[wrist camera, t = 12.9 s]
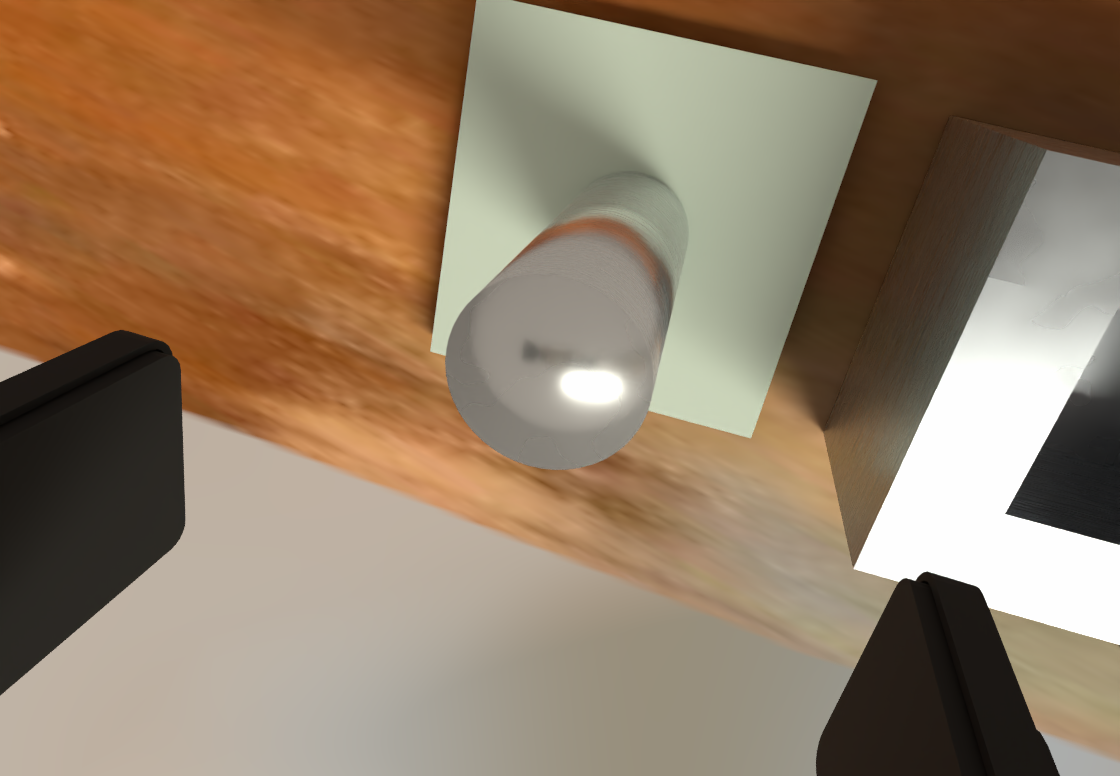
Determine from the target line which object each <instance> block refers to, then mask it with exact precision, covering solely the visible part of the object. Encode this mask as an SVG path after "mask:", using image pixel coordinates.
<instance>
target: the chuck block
mask: <svg viewBox="0 0 1120 776" xmlns="http://www.w3.org/2000/svg"><path fill="white" fill-rule="evenodd" d="M823 433H824V437H825V442H826V447H827V451H828V456H829V460H830V465H831V469H832V474H833V478H834V483H835V488H836V492H837V497H838V501H839V506H840V510H841V515H842V519H843V524H844V529H845V533H846V538H847V542H848V547H849V551H850V556H851V560H852V565H853V569H856V570H859V571H863V572H866V573H870V574H873V575H877V576H880V577H884V578H887V579H891V580H895V581H898V582H900V581H901V580H902V579H903V578H908V579H912V580H916V579H917V577H918V576H919V575H920V574H921V573H922V572H926V571H928V572H932V573H935V574H938V575H942V576H945V577H948V578H952V579H955V580H958V581H962V582H965V583H968V584H972V585H975V586H977V587H979V588H980V589H981V591H982V593H983V595H984V597H985V600H986V602H987V605H988V607H989V608H993V609H996V610H1000V611H1003V612H1007V613H1010V614H1014V615H1017V616H1021V617H1024V618H1028V619H1031V620H1035V621H1038V622H1042V623H1045V624H1049V625H1052V626H1056V627H1059V628H1063V629H1067V630H1070V631H1074V632H1077V633H1081V634H1084V635H1088V636H1091V637H1095V638H1098V639H1102V640H1105V641H1109V642H1112V643H1116V644H1119V645H1120V153H1117V152H1113V151H1108V150H1104V149H1099V148H1095V147H1090V146H1086V145H1081V144H1077V143H1072V142H1068V141H1063V140H1059V139H1054V138H1050V137H1045V136H1041V135H1036V134H1032V133H1027V132H1023V131H1018V130H1014V129H1009V128H1005V127H1000V126H996V125H991V124H987V123H982V122H978V121H973V120H969V119H964V118H960V117H955V116H951V115H950V117H949V120H948V122H947V125H946V127H945V130H944V132H943V135H942V137H941V140H940V142H939V145H938V147H937V150H936V152H935V155H934V157H933V160H932V162H931V165H930V167H929V170H928V172H927V175H926V177H925V180H924V182H923V185H922V187H921V190H920V192H919V195H918V197H917V200H916V202H915V205H914V207H913V210H912V212H911V215H910V217H909V220H908V222H907V225H906V227H905V230H904V232H903V235H902V237H901V240H900V242H899V245H898V247H897V250H896V252H895V255H894V257H893V260H892V262H891V265H890V267H889V270H888V272H887V275H886V277H885V280H884V282H883V285H882V287H881V290H880V292H879V295H878V297H877V300H876V302H875V305H874V307H873V310H872V312H871V315H870V317H869V320H868V322H867V325H866V327H865V330H864V332H863V335H862V337H861V340H860V342H859V345H858V347H857V350H856V352H855V355H854V357H853V360H852V362H851V365H850V367H849V370H848V372H847V375H846V377H845V380H844V382H843V385H842V387H841V390H840V392H839V395H838V397H837V400H836V402H835V405H834V407H833V410H832V412H831V415H830V417H829V420H828V422H827V425H826V427H825V430H824V432H823Z"/></svg>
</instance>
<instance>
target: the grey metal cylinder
mask: <svg viewBox="0 0 1120 776" xmlns="http://www.w3.org/2000/svg"><path fill="white" fill-rule="evenodd" d="M688 241H689V224H688V219H687V215H686V212H685V209H684V207H683V205H682V203H681V201H680V200H679V198H678V197H677V196H676V194H675V193H674V192H673V191H672V190H671V189H670V188H669V187H668V186H667V185H666V184H664V183H663V182H661V181H660V180H658V179H656V178H654V177H652V176H650V175H647V174H644V173H640V172H634V171H623V172H615V173H611V174H608V175H605V176H603V177H601V178H599V179H597V180H595V181H594V182H592V183H591V184H590V185H588V186H587V187H586V188H585V189H584V190H583V191H582V192H581V193H580V194H579V195H578V196H577V197H576V198H575V199H574V200H573V201H572V202H571V203H570V204H569V205H568V206H567V207H566V208H565V209H564V210H563V211H562V212H561V213H560V214H559V215H558V216H557V217H556V218H555V219H554V220H553V221H552V222H551V223H550V224H549V225H548V226H547V227H545V228H544V229H543V230H542V231H541V232H540V233H539V234H538V235H537V236H536V237H535V238H534V239H533V240H532V241H531V242H530V243H529V244H528V245H527V246H526V247H525V248H524V249H523V250H522V251H521V252H520V253H519V254H518V255H517V256H516V257H515V258H514V259H513V260H512V261H511V262H510V263H509V264H508V265H507V266H506V267H505V268H504V269H503V270H502V271H501V272H500V273H499V274H498V275H497V276H496V277H494V278H493V279H492V280H491V281H490V282H489V283H488V284H487V285H486V286H485V287H484V288H483V289H482V290H481V291H480V292H479V293H478V294H477V295H476V296H475V297H474V298H473V299H472V300H471V301H470V302H469V303H468V304H467V305H466V306H465V308H464V309H463V310H462V312H461V313H460V314H459V316H458V318H457V320H456V321H455V323H454V325H453V328H452V330H451V333H450V336H449V339H448V344H447V348H446V360H445V365H446V376H447V381H448V386H449V390H450V393H451V396H452V399H453V401H454V403H455V405H456V407H457V409H458V411H459V413H460V414H461V416H462V417H463V419H464V421H465V422H466V423H467V424H468V426H469V427H470V428H471V429H472V431H473V432H474V433H475V434H476V435H477V436H478V437H479V438H480V439H481V440H482V441H484V442H485V443H486V444H487V445H489V446H490V447H491V448H493V449H494V450H496V451H497V452H499V453H501V454H502V455H504V456H506V457H508V458H510V459H512V460H514V461H517V462H520V463H522V464H525V465H528V466H533V467H537V468H543V469H552V470H567V469H575V468H581V467H585V466H588V465H592V464H594V463H597V462H599V461H602V460H604V459H606V458H608V457H609V456H611V455H613V454H614V453H616V452H617V451H618V450H620V449H621V448H622V447H624V446H625V445H626V444H627V443H628V442H629V441H630V440H631V439H632V438H633V436H634V435H635V433H636V432H637V431H638V429H639V428H640V426H641V425H642V423H643V421H644V419H645V417H646V414H647V412H648V409H649V406H650V403H651V398H652V394H653V390H654V386H655V382H656V377H657V373H658V369H659V365H660V360H661V356H662V352H663V348H664V344H665V339H666V335H667V331H668V327H669V323H670V318H671V314H672V310H673V306H674V301H675V297H676V293H677V289H678V285H679V280H680V276H681V272H682V268H683V264H684V259H685V255H686V251H687V246H688Z"/></svg>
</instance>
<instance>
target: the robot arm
mask: <svg viewBox="0 0 1120 776" xmlns="http://www.w3.org/2000/svg"><path fill="white" fill-rule="evenodd" d="M183 461H184V460H183V431H182V397H181V369H180V364H179V362H178V360H177V359H176V358H175V357H174V356H172V351H171V350H170V348H169V346H168V345H167V344H166V343H164V342H162V341H159V340H156V339H152V338H149V337H146V336H142V335H139V334H136V333H132V332H129V331H124V330H119V331H115V332H112V333H109V334H107V335H105V336H103V337H101V338H98V339H96V340H94V341H92V342H89V343H87V344H85V345H83V346H80V347H78V348H76V349H74V350H71V351H69V352H67V353H65V354H62V355H60V356H58V357H56V358H53V359H51V360H49V361H47V362H45V363H42V364H40V365H38V366H36V367H33V368H31V369H29V370H27V371H25V372H22V373H20V374H18V375H16V376H13V377H11V378H9V379H7V380H4V381H2V382H0V695H1V694H2V693H4V692H5V691H6V690H7V689H8V688H9V687H10V686H12V685H13V684H14V683H15V682H17V681H18V680H19V679H20V678H21V677H22V676H24V675H25V674H26V673H27V672H28V671H29V670H31V669H32V668H33V667H34V666H35V665H36V664H38V663H39V662H40V661H41V660H42V659H43V658H45V657H46V656H47V655H48V654H49V653H50V652H52V651H53V650H54V649H55V648H56V647H57V646H59V645H60V644H61V643H62V642H63V641H64V640H66V639H67V638H68V637H69V636H70V635H71V634H72V633H74V632H75V631H76V630H77V629H78V628H80V627H81V626H82V625H83V624H84V623H85V622H87V621H88V620H89V619H90V618H91V617H93V616H94V615H95V614H96V613H97V612H98V611H100V610H101V609H102V608H103V607H104V606H105V605H107V604H108V603H109V602H110V601H111V600H112V599H113V598H115V597H116V596H117V595H118V594H119V593H121V592H122V591H123V590H124V589H125V588H126V587H128V586H129V585H130V584H131V583H132V582H133V581H135V580H136V579H137V578H138V577H139V576H140V575H142V574H143V573H144V572H145V571H146V570H147V569H148V568H150V567H151V566H152V565H153V564H154V563H156V562H157V561H158V560H159V559H160V558H162V556H163V555H165V554H166V553H167V552H169V551H170V550H171V549H172V548H173V547H174V546H175V545H176V543H177V542H178V540H179V539H180V537H181V535H182V533H183V530H184V526H185V494H184V462H183ZM816 773H817V776H1060V775H1059V773H1058V770H1057V768H1056V765H1055V763H1054V760H1053V758H1052V755H1051V753H1050V750H1049V747H1048V745H1047V744H1046V742H1045V740H1044V738H1043V736H1042V735H1041V733H1040V732H1039V731H1038V730H1036V727H1035V725H1034V722H1033V720H1032V717H1031V714H1030V712H1029V709H1028V707H1027V704H1026V702H1025V699H1024V697H1023V694H1022V692H1021V689H1020V686H1019V684H1018V681H1017V679H1016V676H1015V674H1014V671H1013V669H1012V666H1011V663H1010V661H1009V658H1008V656H1007V653H1006V651H1005V648H1004V646H1003V643H1002V640H1001V638H1000V635H999V633H998V630H997V628H996V625H995V623H994V620H993V617H992V615H991V612H990V610H989V607H988V605H987V602H986V600H985V597H984V595H983V593H982V591H981V589H980V588H979V587H977V586H975V585H972V584H968V583H965V582H962V581H958V580H955V579H952V578H948V577H945V576H942V575H938V574H935V573H932V572H928V571H926V572H922V573H921V574H920V575H919V576H918V577H917V579H916V580H912V579H908V578H903V579H902V580H901V581H900V582H899V583H898V584H897V586H896V588H895V590H894V592H893V594H892V596H891V598H890V600H889V602H888V604H887V606H886V608H885V610H884V612H883V614H882V616H881V618H880V620H879V622H878V623H877V625H876V627H875V629H874V631H873V633H872V635H871V637H870V639H869V641H868V643H867V645H866V647H865V649H864V651H863V653H862V655H861V657H860V659H859V661H858V663H857V665H856V667H855V669H854V671H853V673H852V675H851V677H850V679H849V681H848V683H847V685H846V687H845V689H844V691H843V693H842V695H841V697H840V699H839V701H838V703H837V705H836V707H835V709H834V711H833V713H832V715H831V717H830V719H829V721H828V723H827V725H826V727H825V729H824V731H823V733H822V735H821V738H820V741H819V745H818V750H817V757H816Z"/></svg>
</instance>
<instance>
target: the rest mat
mask: <svg viewBox="0 0 1120 776" xmlns="http://www.w3.org/2000/svg"><path fill="white" fill-rule="evenodd" d="M876 83H877V80H873V79H869V78H865V77H860V76H856V75H851V74H847V73H842V72H837V71H833V70H828V69H824V68H819V67H815V66H810V65H806V64H801V63H796V62H792V61H787V60H783V59H778V58H774V57H769V56H765V55H760V54H755V53H751V52H746V51H742V50H737V49H733V48H728V47H724V46H719V45H714V44H710V43H705V42H701V41H696V40H692V39H687V38H683V37H678V36H673V35H669V34H664V33H660V32H655V31H651V30H646V29H642V28H637V27H632V26H628V25H623V24H619V23H614V22H610V21H605V20H601V19H596V18H591V17H587V16H582V15H578V14H573V13H569V12H564V11H560V10H555V9H550V8H546V7H541V6H537V5H532V4H528V3H523V2H519V1H514V0H476V7H475V15H474V22H473V30H472V38H471V45H470V53H469V61H468V68H467V76H466V83H465V91H464V99H463V106H462V114H461V122H460V129H459V137H458V145H457V152H456V160H455V167H454V175H453V183H452V190H451V198H450V206H449V213H448V221H447V228H446V236H445V244H444V251H443V259H442V267H441V274H440V282H439V290H438V297H437V305H436V312H435V320H434V328H433V335H432V343H431V352H434V353H438V354H442V355H445V356H446V348H447V344H448V339H449V336H450V333H451V330H452V328H453V325H454V323H455V321H456V320H457V318H458V316H459V314H460V313H461V312H462V310H463V309H464V308H465V306H466V305H467V304H468V303H469V302H470V301H471V300H472V299H473V298H474V297H475V296H476V295H477V294H478V293H479V292H480V291H481V290H482V289H483V288H484V287H485V286H486V285H487V284H488V283H489V282H490V281H491V280H492V279H493V278H494V277H496V276H497V275H498V274H499V273H500V272H501V271H502V270H503V269H504V268H505V267H506V266H507V265H508V264H509V263H510V262H511V261H512V260H513V259H514V258H515V257H516V256H517V255H518V254H519V253H520V252H521V251H522V250H523V249H524V248H525V247H526V246H527V245H528V244H529V243H530V242H531V241H532V240H533V239H534V238H535V237H536V236H537V235H538V234H539V233H540V232H541V231H542V230H543V229H544V228H545V227H547V226H548V225H549V224H550V223H551V222H552V221H553V220H554V219H555V218H556V217H557V216H558V215H559V214H560V213H561V212H562V211H563V210H564V209H565V208H566V207H567V206H568V205H569V204H570V203H571V202H572V201H573V200H574V199H575V198H576V197H577V196H578V195H579V194H580V193H581V192H582V191H583V190H584V189H585V188H586V187H587V186H588V185H590V184H591V183H592V182H594V181H595V180H597V179H599V178H601V177H603V176H605V175H608V174H611V173H615V172H623V171H634V172H640V173H644V174H647V175H650V176H652V177H654V178H656V179H658V180H660V181H661V182H663V183H664V184H666V185H667V186H668V187H669V188H670V189H671V190H672V191H673V192H674V193H675V194H676V196H677V197H678V198H679V200H680V201H681V203H682V205H683V207H684V209H685V212H686V215H687V219H688V224H689V241H688V246H687V251H686V255H685V259H684V264H683V268H682V272H681V276H680V280H679V285H678V289H677V293H676V297H675V301H674V306H673V310H672V314H671V318H670V323H669V327H668V331H667V335H666V339H665V344H664V348H663V352H662V356H661V360H660V365H659V369H658V373H657V377H656V382H655V386H654V390H653V394H652V398H651V403H650V406H649V409H648V411H652V412H655V413H659V414H663V415H666V416H670V417H674V418H678V419H681V420H685V421H689V422H692V423H696V424H700V425H703V426H707V427H711V428H714V429H718V430H722V431H725V432H729V433H733V434H737V435H740V436H744V437H748V438H751V437H752V434H753V431H754V428H755V425H756V423H757V420H758V417H759V414H760V411H761V408H762V406H763V403H764V400H765V397H766V394H767V391H768V389H769V386H770V383H771V380H772V377H773V374H774V372H775V369H776V366H777V363H778V360H779V358H780V355H781V352H782V349H783V346H784V343H785V341H786V338H787V335H788V332H789V329H790V326H791V324H792V321H793V318H794V315H795V312H796V309H797V307H798V304H799V301H800V298H801V295H802V292H803V290H804V287H805V284H806V281H807V278H808V275H809V273H810V270H811V267H812V264H813V261H814V258H815V256H816V253H817V250H818V247H819V244H820V241H821V239H822V236H823V233H824V230H825V227H826V225H827V222H828V219H829V216H830V213H831V210H832V208H833V205H834V202H835V199H836V196H837V193H838V191H839V188H840V185H841V182H842V179H843V176H844V174H845V171H846V168H847V165H848V162H849V159H850V157H851V154H852V151H853V148H854V145H855V142H856V140H857V137H858V134H859V131H860V128H861V125H862V123H863V120H864V117H865V114H866V111H867V108H868V106H869V103H870V100H871V97H872V94H873V92H874V89H875V86H876Z"/></svg>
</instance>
